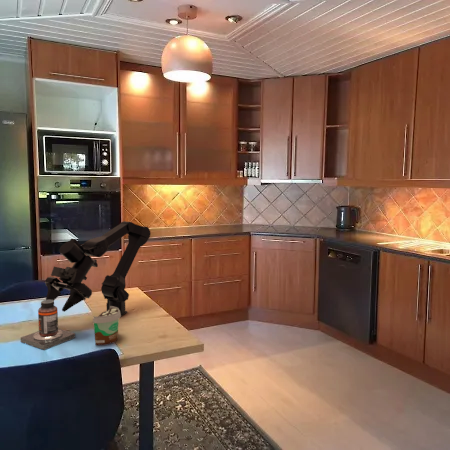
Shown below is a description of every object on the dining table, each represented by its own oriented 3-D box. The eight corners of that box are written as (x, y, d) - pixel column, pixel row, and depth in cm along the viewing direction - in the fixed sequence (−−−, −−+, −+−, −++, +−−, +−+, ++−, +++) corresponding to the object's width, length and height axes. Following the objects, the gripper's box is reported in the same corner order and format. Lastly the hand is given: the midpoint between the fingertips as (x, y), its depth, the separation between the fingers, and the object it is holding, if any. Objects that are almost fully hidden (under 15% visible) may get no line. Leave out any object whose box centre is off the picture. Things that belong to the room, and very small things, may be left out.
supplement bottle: (37, 332, 138) (36, 300, 136) (56, 329, 141) (55, 297, 140) (40, 338, 133) (39, 304, 131) (59, 335, 136) (58, 302, 135)
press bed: (52, 330, 145) (52, 325, 145) (75, 337, 139) (75, 332, 139) (20, 341, 135) (20, 336, 135) (43, 350, 129) (43, 344, 129)
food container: (110, 348, 131) (110, 318, 130) (93, 346, 132) (92, 316, 131) (127, 334, 143) (127, 306, 142) (111, 332, 144) (110, 305, 143)
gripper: (48, 254, 145) (20, 292, 137) (84, 260, 136) (56, 301, 128) (67, 271, 153) (42, 308, 145) (102, 278, 143) (78, 318, 135)
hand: (54, 308), depth 138 cm, fingers open, 9 cm apart
